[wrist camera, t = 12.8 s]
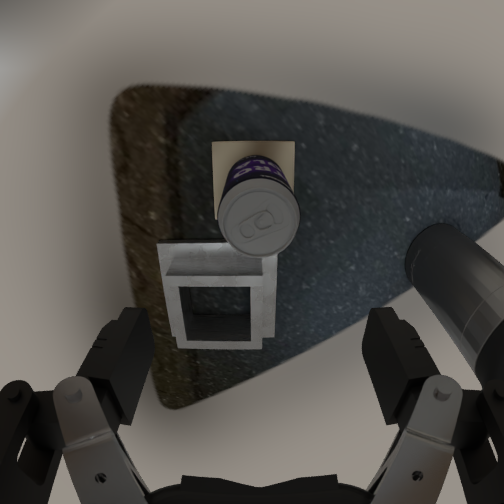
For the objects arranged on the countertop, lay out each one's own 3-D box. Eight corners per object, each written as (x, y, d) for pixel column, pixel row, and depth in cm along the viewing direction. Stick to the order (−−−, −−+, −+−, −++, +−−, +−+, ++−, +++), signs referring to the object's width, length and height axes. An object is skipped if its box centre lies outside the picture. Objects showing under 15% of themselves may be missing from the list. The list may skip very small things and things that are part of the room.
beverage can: (294, 190, 32) (318, 237, 21) (246, 218, 33) (245, 277, 22) (265, 142, 30) (275, 164, 19) (215, 173, 31) (198, 211, 20)
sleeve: (277, 238, 35) (281, 259, 30) (273, 332, 40) (276, 359, 36) (159, 240, 35) (146, 260, 30) (173, 331, 40) (166, 357, 36)
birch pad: (293, 141, 30) (294, 141, 30) (291, 216, 34) (292, 218, 33) (212, 141, 30) (211, 142, 30) (215, 217, 34) (215, 219, 33)
